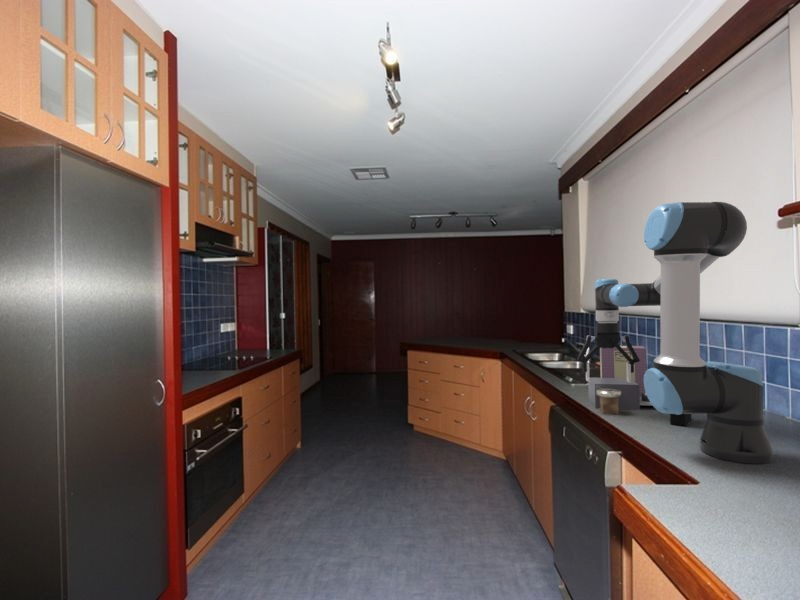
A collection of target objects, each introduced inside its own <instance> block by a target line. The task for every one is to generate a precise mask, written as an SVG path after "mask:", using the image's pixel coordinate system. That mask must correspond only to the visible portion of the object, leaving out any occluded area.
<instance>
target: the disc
mask: <svg viewBox="0 0 800 600" xmlns="http://www.w3.org/2000/svg"><path fill="white" fill-rule="evenodd" d="M596 391H597V395H598V396H601V397H608V398H617V397H621V391H620V390H616V389H597V390H596Z"/></svg>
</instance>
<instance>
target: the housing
mask: <svg viewBox="0 0 800 600" xmlns="http://www.w3.org/2000/svg"><path fill="white" fill-rule="evenodd" d="M589 379H590V382H587V383H588V384H587V388H588V402H590V404H591V405H592V404H593V405H594V406H593V405H592V406H593V407H594V408H595V409H600V396H598V395H597V391H596V390H597V389H616V390H620V391H621V397H618V410H639V411H640V410H641V405H640V396H639V384H637V383H636V382H634V381H632V380H631V383H629V382H627V378H601V377H590V376H589Z"/></svg>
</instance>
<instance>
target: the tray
mask: <svg viewBox="0 0 800 600" xmlns="http://www.w3.org/2000/svg"><path fill="white" fill-rule="evenodd" d="M640 406H649V407H650V406H653V405H652V404H651V403H650V401H649V399H648V397H647V395H646V392H645V391H642V392H641V397H640Z"/></svg>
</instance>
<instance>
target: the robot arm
mask: <svg viewBox="0 0 800 600" xmlns="http://www.w3.org/2000/svg"><path fill="white" fill-rule="evenodd" d="M747 225H748V224H747V219H746V217H745V215H744V214H743V212H742V211H741V209H739V208H738V207H737V206H735V205H733V204H731V203H728V202H723V201H711V202H708V201H707V202H706V201H703V202H700V201H698V202H696V201H695V202H693V201H692V202H690V201H687V202H683V201H682V202H680V201H678V202H671V203H670V202H669V203H663V204H660V205H657V206H656V207H655V208H654V209H653V210H652V211H651V212H650V215H649V216H648V218H647V220H646V223H645V226H644V231H643V240H644V243H645V246H646V247H647V248H648V249H649V250H652V251H653V257H654V259H655V260H656V261H658V262H659V264H660V275H659V276H658V277H657V279H655V280H654V281H653V282H651V283H648V282H647V283H619V280H618V279H617V278H604V279H603V278H602V279H601V278H600V279H597V280H596V281H595V286H594V294H595V299H594V300H595V321H596V322H595V335H594V336H592V335H588V334H587V335H586V336H585V337H586V338H585V342H584V344H583V346H582V348H581V350H580V351H579V353H578V356H577V358H576V360H577V361H578V362H581V363H582V372H584V373H585V380H586V382H587V383H588V382H590V379H589V377H590V363H589V360H590V359H592V357H593V356H594V355H595V354H596V353H598V351H600V348H601V347H602V348H614V347H615V348H616V349H617V350H618V351H619V352H620V353H621V354H622V355H623V356H624V357H625V358H626V359H627V361H628V362H629V363H626V372H627V382H629V383H631V373H633V372H634V363H636V362H639V361H640V360H639V358H638V356H637V354H636V352H635V351H634V349H633V347H632V346H633V345H632V344H631V342H630V337H629V335H623V336H622V335H621V336H620V324H619V321H620V317H619V312H620V311H619V310H620V309H619V308H627V307H628V308H629V307H643V306H644V307H648V306H649V307H652V306H653V307H654V306H655V307H656V306H657V307H659V306H660V307H659V308H660V315H659V317H660V323H659V324H660V333H659V335H660V337H659V338H660V339H659V340H660V348H659V349H660V350H659V351H660V352H659V355H658V356H657V357H655V358H654V359H653V367H650V368H648V369H647V371H646V372H645V375H644V388H645V392H646V395H647V397H648V399H649V401H650V403H651V404H652V405H653V408H654V409H655V410H656V411H658V412H660V413H661V414H666V415H667V414H669V415H670V414H676V415H680V414H691V415H697V414H698V415H699V414H700V415H701V414H703V415H704V414H705V415H706V423H705V426H704V428H703V431H702V434H701V435H700V438H699V449H700V451H701V452H702V453H705V454H706V455H709V456H711V457H714V458H717V459H719V460H720V459H721V460H725V461H730V462H735V463H743V464H745V463H746V464H759V465H760V464H768V463H771V462H773V461H774V450H773V447H772V444H771V442H770V440H769V438H768V437H769V436H768V435H767V433H766V430H765V427H764V398H763V397H764V396H763V395H764V391H763V390H764V389H763V388H764V386H765V385H764V383H763V376H762V371H760V370H759V369H758V368H756V367H753V366H749V365H748V366H747V365H741V364H734V363H727V362H720V361H705V360H704V359H702V358H701V356H700V349H701V347H700V342H701V341H700V340H701V339H700V337H701V336H700V334H701V333H700V331H701V330H700V326H701V323H700V322H701V320H700V319H701V316H700V315H701V309H700V308H701V299H700V298H701V274H702V273H703V272H705V271H706V270H707V268H709V267H710V266H712V264H713V263H714V262H716V261H717V260H718V259H719V258H724V257H727V256H729V255H731V253H733V252H734V251H735V250H736V249H737V248H738V247H739V246H740V245H741V244H742V242H743V241H744V239H745V236H746V235H747V230H748V226H747ZM594 340H595V342H596V344H595V345H594V346H593V347H592V348H591V350H590V351H589V352H588V349H589V347H590V346H591V343H592V342H593V341H594ZM620 341H622V342H623V343H624V344H625V346H627V348H628V350H629V352H630V353H631V355H632V357H633V359H631V358H630V357H629V356H628V354H627V353H626V352H625V351H624V350H623V349H622V348H621V347H620V346H621V345H620V344H619V343H620ZM586 352H588V353H587V354H586ZM585 354H586V355H585Z"/></svg>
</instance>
